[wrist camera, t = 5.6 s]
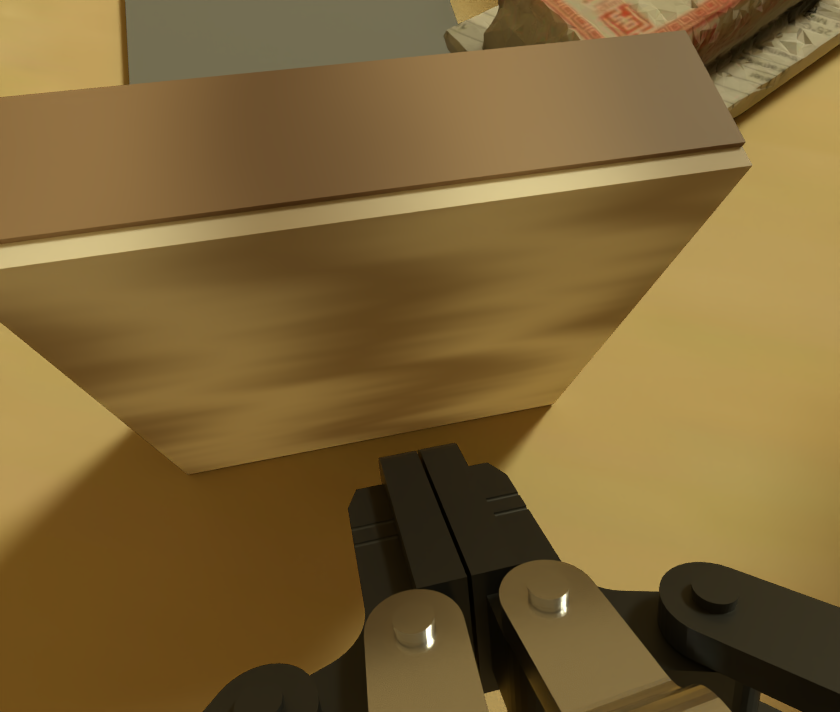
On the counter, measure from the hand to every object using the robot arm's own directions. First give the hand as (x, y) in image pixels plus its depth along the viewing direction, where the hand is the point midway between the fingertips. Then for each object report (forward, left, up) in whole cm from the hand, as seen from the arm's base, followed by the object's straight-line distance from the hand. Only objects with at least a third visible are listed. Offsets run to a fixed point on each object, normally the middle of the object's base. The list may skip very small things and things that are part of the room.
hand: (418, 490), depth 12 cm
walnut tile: (0, -5, -7) cm, 9 cm away
